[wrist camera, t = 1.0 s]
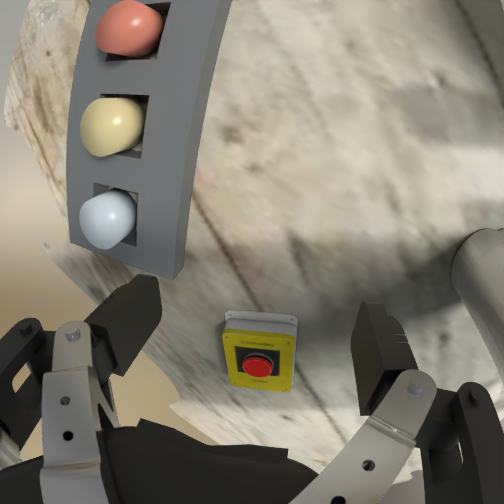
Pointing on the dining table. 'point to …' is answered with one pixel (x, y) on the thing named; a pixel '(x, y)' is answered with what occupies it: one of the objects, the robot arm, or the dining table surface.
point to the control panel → (147, 129)
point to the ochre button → (112, 125)
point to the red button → (129, 29)
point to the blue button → (108, 218)
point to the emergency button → (260, 349)
